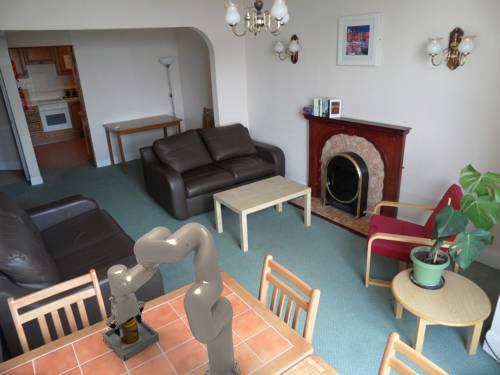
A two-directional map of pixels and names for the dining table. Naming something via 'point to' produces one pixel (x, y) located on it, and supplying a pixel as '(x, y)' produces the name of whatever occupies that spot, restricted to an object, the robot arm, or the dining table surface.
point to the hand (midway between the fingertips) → (128, 328)
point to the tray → (147, 339)
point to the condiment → (129, 333)
